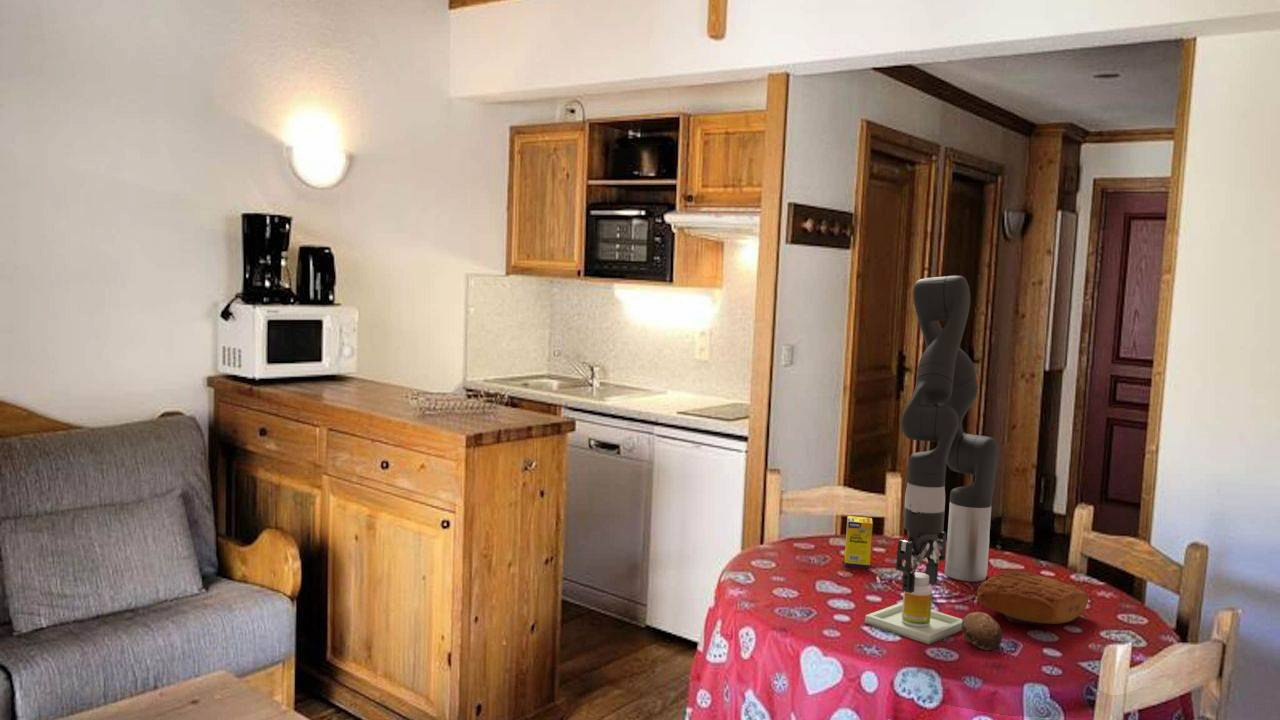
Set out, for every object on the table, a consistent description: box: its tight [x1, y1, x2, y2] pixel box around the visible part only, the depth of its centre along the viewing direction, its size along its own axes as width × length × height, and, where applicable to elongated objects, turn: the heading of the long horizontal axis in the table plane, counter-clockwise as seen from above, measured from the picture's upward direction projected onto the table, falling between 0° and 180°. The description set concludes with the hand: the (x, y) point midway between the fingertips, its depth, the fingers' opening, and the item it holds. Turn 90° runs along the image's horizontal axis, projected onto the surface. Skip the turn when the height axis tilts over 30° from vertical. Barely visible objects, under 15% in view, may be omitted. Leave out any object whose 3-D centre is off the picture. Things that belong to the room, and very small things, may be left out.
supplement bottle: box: [902, 571, 933, 627], centre depth 194 cm, size 5×5×10 cm
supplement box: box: [844, 515, 874, 569], centre depth 235 cm, size 6×6×11 cm
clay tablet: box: [976, 570, 1089, 625], centre depth 201 cm, size 22×17×8 cm
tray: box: [864, 601, 964, 645], centre depth 194 cm, size 14×14×2 cm
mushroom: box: [961, 611, 1003, 651], centre depth 185 cm, size 8×8×6 cm
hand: (919, 587), depth 193 cm, fingers open, 8 cm apart
